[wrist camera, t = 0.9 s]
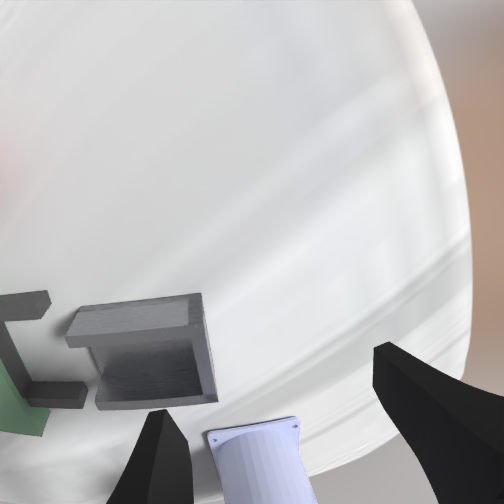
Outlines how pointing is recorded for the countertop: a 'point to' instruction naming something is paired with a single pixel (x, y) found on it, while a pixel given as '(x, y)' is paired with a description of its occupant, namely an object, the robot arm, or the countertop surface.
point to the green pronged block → (18, 380)
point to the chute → (148, 352)
